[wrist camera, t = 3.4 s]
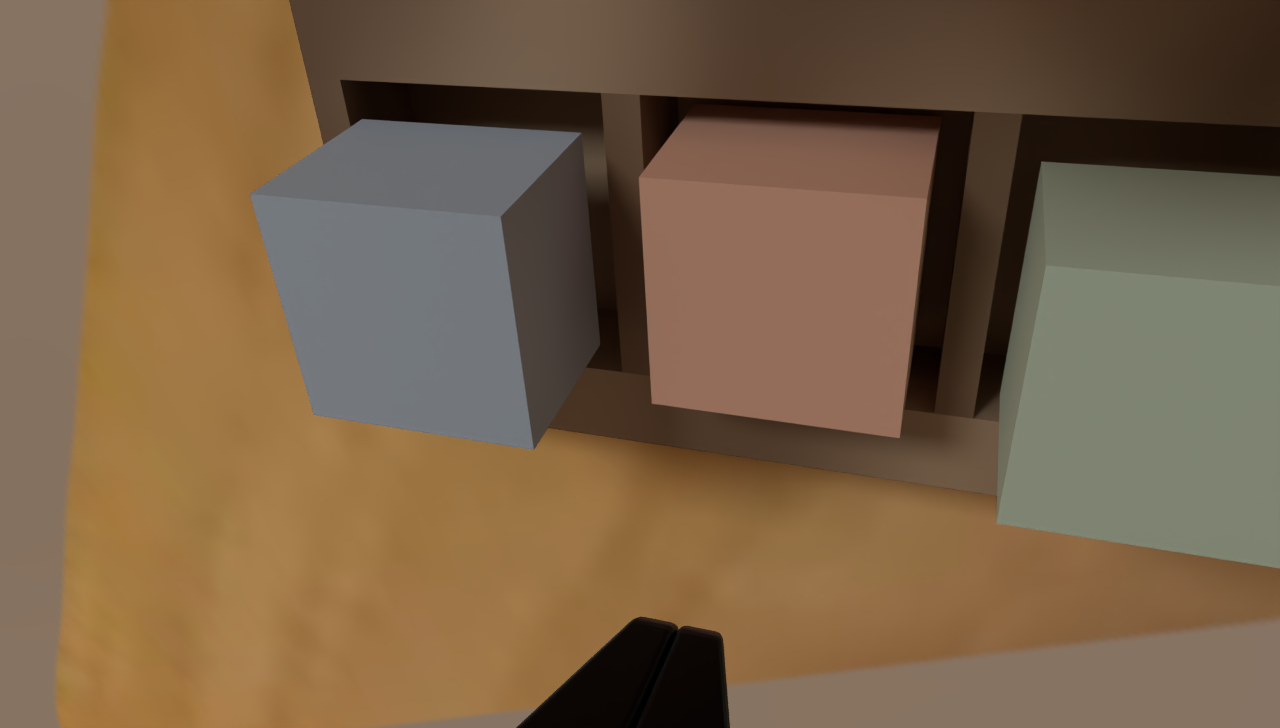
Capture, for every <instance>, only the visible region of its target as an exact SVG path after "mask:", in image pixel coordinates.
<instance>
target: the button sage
mask: <svg viewBox="0 0 1280 728" xmlns="http://www.w3.org/2000/svg"><path fill="white" fill-rule="evenodd" d="M996 523H997V524H1003V525H1009V526H1016V527H1022V528H1028V529H1034V530H1041V531H1047V532H1053V533H1060V534H1066V535H1072V536H1078V537H1085V538H1091V539H1097V540H1104V541H1110V542H1116V543H1122V544H1129V545H1135V546H1141V547H1148V548H1154V549H1160V550H1166V551H1173V552H1179V553H1185V554H1192V555H1198V556H1204V557H1210V558H1217V559H1223V560H1229V561H1236V562H1242V563H1248V564H1254V565H1261V566H1267V567H1273V568H1280V176H1264V175H1248V174H1232V173H1216V172H1200V171H1184V170H1168V169H1152V168H1136V167H1120V166H1104V165H1088V164H1072V163H1056V162H1041V166H1040V172H1039V178H1038V183H1037V189H1036V194H1035V200H1034V206H1033V211H1032V217H1031V222H1030V228H1029V234H1028V239H1027V245H1026V251H1025V256H1024V262H1023V267H1022V273H1021V279H1020V284H1019V290H1018V295H1017V301H1016V307H1015V312H1014V318H1013V323H1012V329H1011V335H1010V340H1009V346H1008V352H1007V357H1006V363H1005V368H1004V374H1003V380H1002V385H1001V391H1000V409H999V446H998V483H997V520H996Z"/></svg>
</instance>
